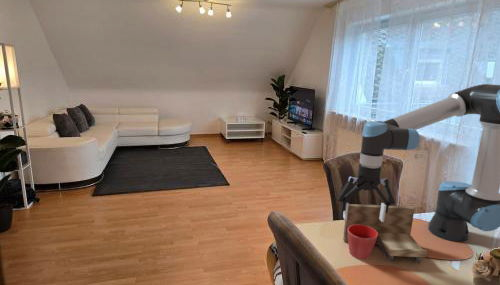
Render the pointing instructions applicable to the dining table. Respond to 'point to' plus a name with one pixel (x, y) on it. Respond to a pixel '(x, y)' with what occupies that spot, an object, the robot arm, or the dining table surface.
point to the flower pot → (361, 240)
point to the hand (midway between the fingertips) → (363, 219)
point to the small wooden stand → (400, 246)
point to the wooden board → (368, 215)
